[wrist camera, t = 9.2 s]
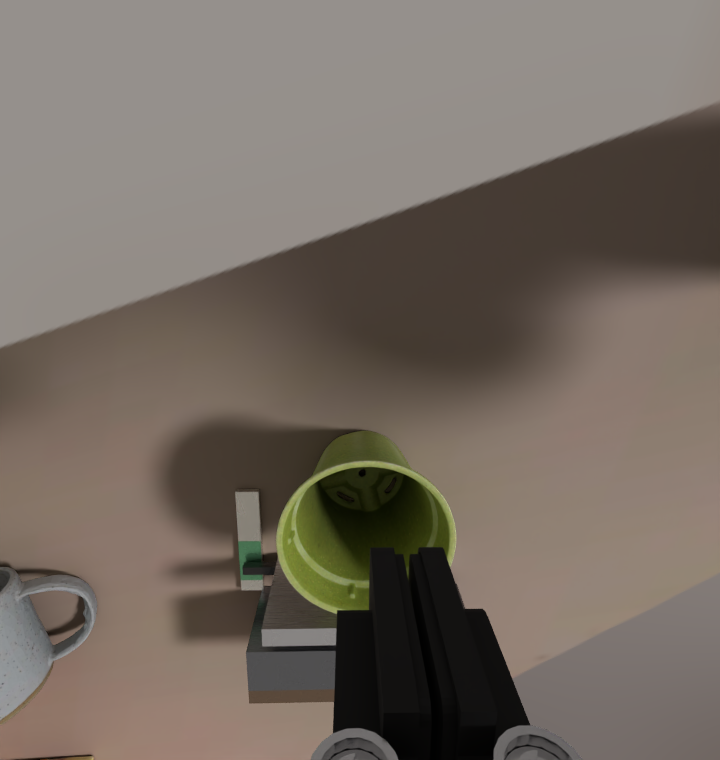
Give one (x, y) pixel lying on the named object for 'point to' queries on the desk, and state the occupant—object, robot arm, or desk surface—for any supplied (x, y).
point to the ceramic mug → (32, 637)
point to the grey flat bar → (291, 612)
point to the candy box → (74, 758)
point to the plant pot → (357, 520)
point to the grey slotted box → (278, 663)
